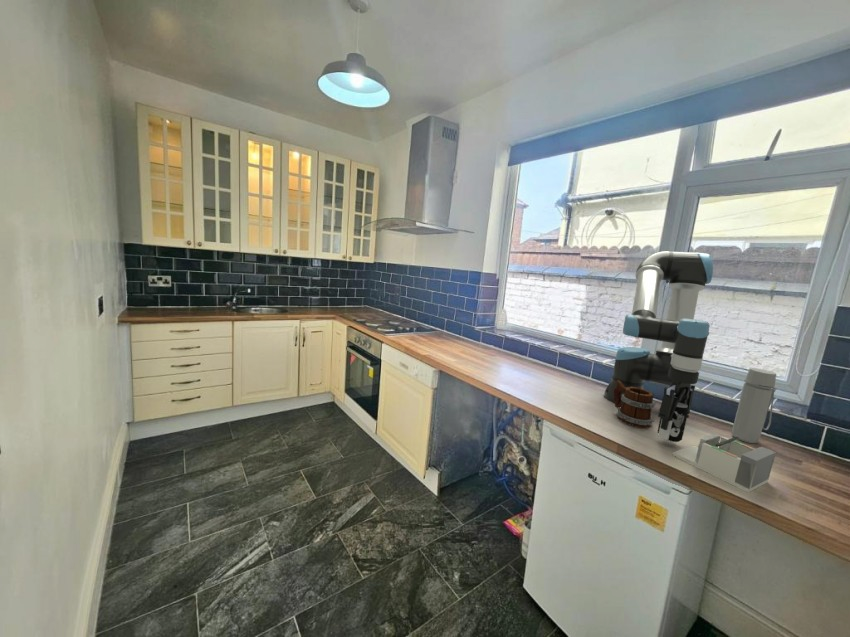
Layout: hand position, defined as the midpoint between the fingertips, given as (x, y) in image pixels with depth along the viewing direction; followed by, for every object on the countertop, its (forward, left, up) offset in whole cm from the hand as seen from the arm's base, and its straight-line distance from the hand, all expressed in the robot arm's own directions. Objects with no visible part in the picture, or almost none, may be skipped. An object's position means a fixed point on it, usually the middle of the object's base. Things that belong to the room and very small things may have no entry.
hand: (669, 436), depth 110 cm
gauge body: (0, +14, -3) cm, 14 cm away
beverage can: (0, 0, -1) cm, 1 cm away
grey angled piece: (0, +13, -2) cm, 13 cm away
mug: (-6, -16, -3) cm, 18 cm away
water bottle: (-34, +9, -3) cm, 35 cm away
